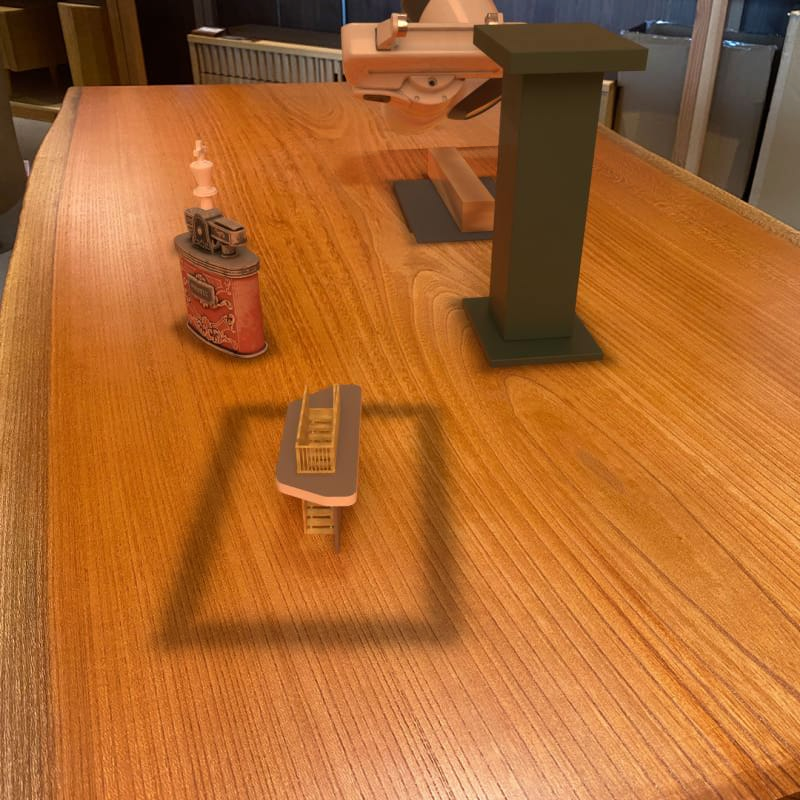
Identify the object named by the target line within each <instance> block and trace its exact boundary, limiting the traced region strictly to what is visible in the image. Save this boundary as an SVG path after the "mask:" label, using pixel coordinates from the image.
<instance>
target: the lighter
mask: <svg viewBox="0 0 800 800" xmlns="http://www.w3.org/2000/svg"><path fill="white" fill-rule="evenodd" d="M183 213H184V221H185V225H186V229H187V232H182V233H179V234H177V235H176V236H174V237H173V245H174V250H175V252H176V253H177V254H178V259H179V266H180V272H181V279H182V285H183V291H184V298H185V305H186V311H187V319H188V320H187V321H186V328H187V330H188V331H189V332H190V333H191V334H192V335H193V336H194V337H195V338H197V339H198V340H199V341H201V342H202V343H204V344H205V345H206V346H209V347H211V348H212V349H214V350H216V351H218V352H220V353H223V354H225V355H228V356H231V357H233V358H236V359H239V360H251V359H255V358H259V357H261V356H263V355H264V354H266V353H267V352H268V349H269V345H268V343H267V341H266V340H265V331H264V321H263V311H262V301H261V300H262V299H261V292H260V290H261V289H260V281H259V272H260V270H261V262H260V257H259V255H258V254H256V253H255V252H254V251H252V250H251V249H250V248H249V247H246V246H244V245H246V244H247V243H248V237H247V228H246V227H245V226H244V225H243V224H242V223H240V222H238V221H235V220H233V219H230V218H229V217H226V216H225V215H224V213H223V211H222V209H220V208H218V207H214V208H212V209H209V210H204V209H202V208H201V207H199V206H191V207H188V208H187V207H186V208H185V209H184V210H183Z"/></svg>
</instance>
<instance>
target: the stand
mask: <svg viewBox="0 0 800 800" xmlns="http://www.w3.org/2000/svg"><path fill="white" fill-rule="evenodd" d="M473 44H474V45H475V46H476V47H477V48H478V49H480V50H481V51H482V52H483V53H484V54H486V55H487V56H488V57H489V58H490V59H492V60H493V61H494V62H495V63H496V64H498V65H499V66H500V67H501V68H502V69H503V77H502V94H501V101H500V111H499V112H500V113H499V126H498V145H497V160H496V177H495V183H496V192H495V208H494V224H493V240H491V241H492V242H491V244H492V245H491V259H490V260H491V261H490V274H489V275H490V277H489V289H488V290H489V291H488V292H489V293H488V296H478V297H476V296H475V297H463V298H462V299H461V306H462V309H463V311H464V312H465V315H466V317H467V320H468V322H469V324H470V327H471V328H472V331H473V334H474V335H475V337H476V339H477V342H478V344H479V346H480V348H481V351H482V353H483V355H484V357H485V359H486V362H487V364H488V366H489V369H494V368H509V367H523V366H525V367H526V366H537V365H540V366H541V365H554V364H567V363H568V364H569V363H579V362H580V363H581V362H582V363H583V362H597V361H598V362H599V361H603V360H604V355H605V353H604V351H603V350H602V348H601V347H600V346H599V344H598V343H597V341H596V340H595V338H594V337H593V335H592V334H591V332H590V331H589V330H588V328H587V327H586V325H585V324H584V322H583V321H582V319H581V318H580V317H579V316H578V314H577V313H576V308H577V307H576V305H577V304H576V303H577V298H578V289H579V281H580V275H581V274H580V272H581V265H582V258H583V249H584V241H585V233H586V224H587V217H588V216H587V215H588V209H589V199H590V192H591V183H592V176H593V167H594V159H595V151H596V144H597V143H596V142H597V135H598V126H599V119H600V111H601V110H600V109H601V102H602V94H603V87H604V78H605V73H607V72H608V73H613V72H614V73H615V72H617V73H618V72H645V71H646V70H647V65H648V64H647V63H648V57H649V48H648V47H646V46H643V45H642V44H639V43H637V42H635V41H634V40H631V39H629V38H626V37H624V36H622V35H620V34H618V33H617V32H613V31H611V30H609V29H607V28H605V27H602V26H601V25H598V24H596V23H594V22H592V21H584V22H583V21H581V22H540V23H539V22H538V23H537V22H535V23H533V22H532V23H531V22H530V23H527V24H484V25H474V29H473Z"/></svg>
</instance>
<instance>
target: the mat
mask: <svg viewBox="0 0 800 800" xmlns="http://www.w3.org/2000/svg"><path fill="white" fill-rule="evenodd" d="M477 177H478V178H479V180H480V181H481V182H482V184H483V185H484V186H485V188H486V189H487V190H488V192H489V193H490V194H491V196H492V197H493V198H494V200H495V192H496V180H494V178H493V177H492V176H477ZM392 189H393V192H394V193H395V197H396V199H397V201H398V202H397V203H398V204H399V207H400V210H401V211H402V212H401V213H402V214H403V216H404V219H405V222H406V224H407V226H408V229H409V232H410V233H411V234H412V233H413V235H414V238H415V241H416V243H417V244H419V245H420V244H438V243H439V244H441V243H459V242H460V243H461V242H478V241H493V231H484V232H466V233H462V232H461V230H460V228H459V227H458V225H457V223H456V222H455V220H454V218H453V217H452V215H451V213H450V211H449V210H448V208H447V206H446V205H445V203H444V201H443V200H442V198H441V196H440V194H439V193H438V191H437V189H436V188H435V186H434V184H433V183H432V181H431V179H430V178H429V179H410V180H409V179H407V180H406V179H405V180H393V181H392Z"/></svg>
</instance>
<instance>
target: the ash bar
mask: <svg viewBox="0 0 800 800" xmlns="http://www.w3.org/2000/svg"><path fill="white" fill-rule="evenodd" d="M427 176H428V178H429V179H431V181H432V183H433V184H434V186H435V188H436V189H437V191H438V193H439V194H440V196H441V198H442V200H443V201H444V203H445V205H446V206H447V208H448V210H449V211H450V213H451V215H452V217H453V218H454V220H455V222H456V223H457V225H458V227H459V228H460V230H461V232H462V233H466V232H484V231H493V224H494V208H495V200H494V198H493V197H492V196H491V194H490V193H489V192H488V190H487V189H486V188H485V186H484V185H483V184H482V182H481V181H480V180H479V178H478V177H479V176H477V174H476V173H475V172H474V170H473V169H472V167H471V166H470V165H469V163H468V162H467V161H466V160H465V158H464V157H463V156H462V154H461V153H460V151H459V150H458V149H457V148H456V146H437V147H436V146H435V147H433V146H432V147H428V148H427Z"/></svg>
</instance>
